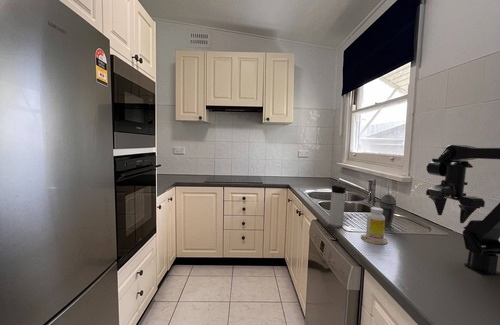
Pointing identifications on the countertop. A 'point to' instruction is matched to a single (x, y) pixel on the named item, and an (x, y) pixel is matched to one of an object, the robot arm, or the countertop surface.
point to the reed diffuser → (388, 208)
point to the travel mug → (337, 206)
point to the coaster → (374, 241)
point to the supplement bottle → (375, 224)
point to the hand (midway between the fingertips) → (450, 219)
